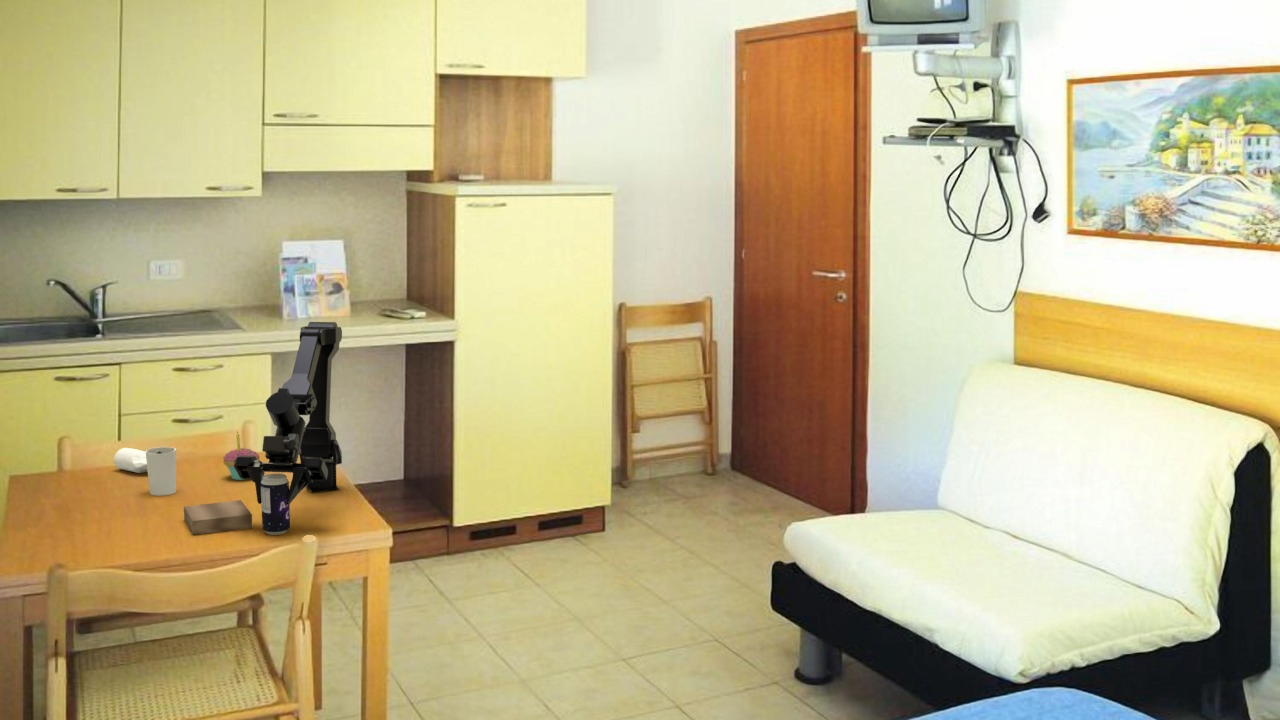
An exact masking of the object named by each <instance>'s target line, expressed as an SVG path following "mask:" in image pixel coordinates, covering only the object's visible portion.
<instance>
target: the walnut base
mask: <svg viewBox="0 0 1280 720" xmlns="http://www.w3.org/2000/svg"><path fill="white" fill-rule="evenodd" d="M183 518H184V519H183V521H184V522H185V523H186V526H188V528H189V530H190V531H191V534H192V536H196V535H198V536H199V535H203V534H204V535H205V534H212V533H213V534H215V533H221V532H223V533H224V532H229V531H237V530H239V531H240V530H246V529H253V514H252V513H251V511H250V510H249V508H248V507H247V506H246V505H245V504H244V502H243V501H242V500H229V501H222V502H212V503H203V504H195V505H185V506H183Z"/></svg>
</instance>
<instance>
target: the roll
mask: <svg viewBox="0 0 1280 720" xmlns="http://www.w3.org/2000/svg"><path fill="white" fill-rule="evenodd" d="M113 464H114V466H115V467H116V468H117V469H119V470H124V471H128V472H132V473H137V474H143V473H148V470H147V460H146V450H145V451H144V450H140V449H136V448H130V447H122V448H120V449H118V450H117V451H116V453H115V454H114V456H113Z"/></svg>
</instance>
